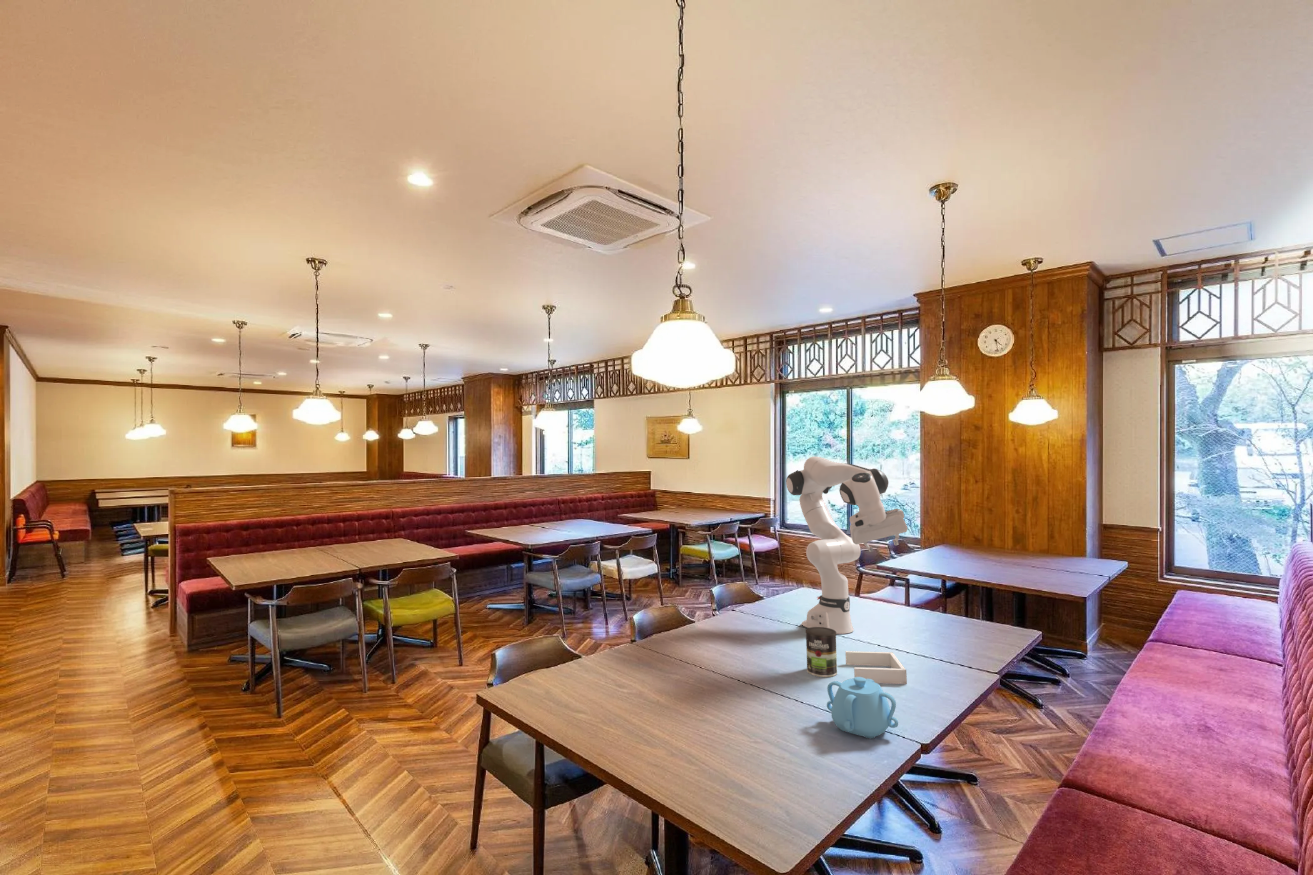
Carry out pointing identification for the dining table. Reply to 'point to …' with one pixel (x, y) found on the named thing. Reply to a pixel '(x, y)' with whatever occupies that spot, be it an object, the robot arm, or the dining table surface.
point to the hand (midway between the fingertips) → (883, 547)
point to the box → (877, 659)
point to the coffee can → (821, 651)
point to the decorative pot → (861, 707)
